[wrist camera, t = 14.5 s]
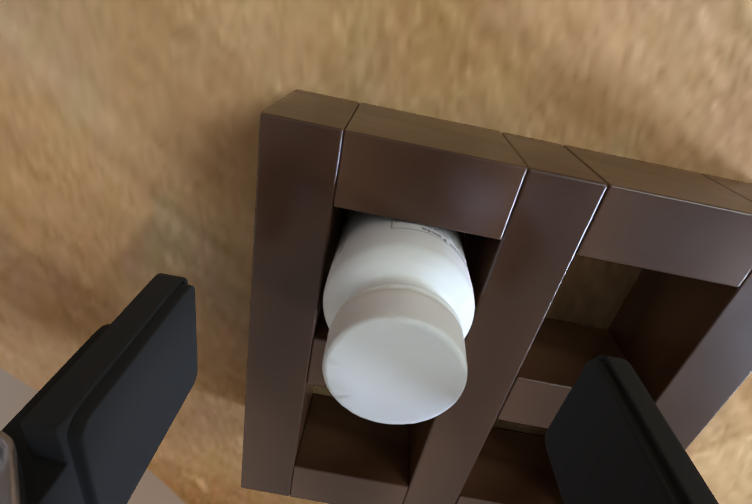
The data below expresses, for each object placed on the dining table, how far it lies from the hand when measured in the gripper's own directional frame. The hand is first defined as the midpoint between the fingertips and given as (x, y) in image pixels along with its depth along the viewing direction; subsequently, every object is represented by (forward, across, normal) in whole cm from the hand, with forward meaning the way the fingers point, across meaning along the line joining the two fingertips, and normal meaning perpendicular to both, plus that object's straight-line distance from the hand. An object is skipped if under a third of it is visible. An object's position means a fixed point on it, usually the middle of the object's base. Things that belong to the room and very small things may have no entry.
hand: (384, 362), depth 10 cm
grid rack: (+7, -4, +4) cm, 9 cm away
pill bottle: (+8, 0, 0) cm, 8 cm away
